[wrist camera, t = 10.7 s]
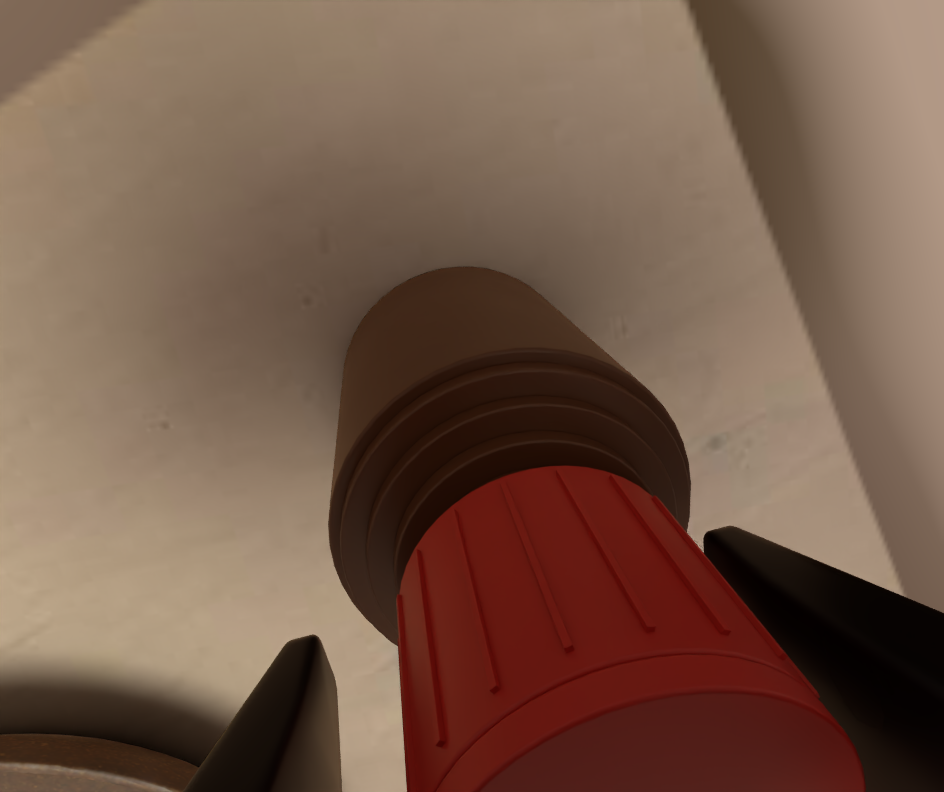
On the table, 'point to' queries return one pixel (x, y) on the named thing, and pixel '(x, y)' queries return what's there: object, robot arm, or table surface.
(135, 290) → the table surface
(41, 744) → the plant saucer
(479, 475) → the bottle
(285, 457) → the table surface
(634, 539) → the cap
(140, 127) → the table surface
